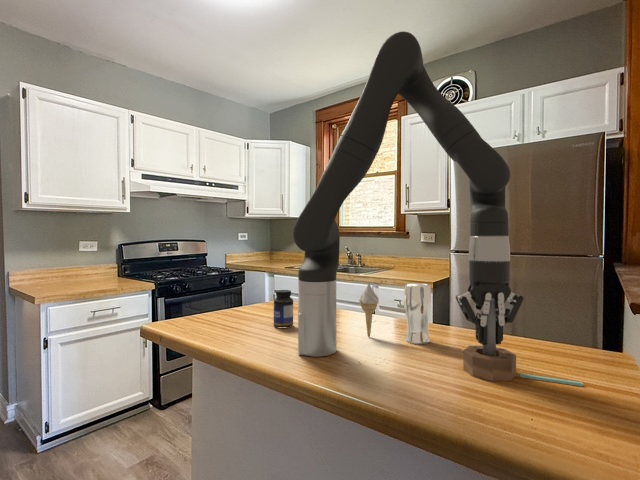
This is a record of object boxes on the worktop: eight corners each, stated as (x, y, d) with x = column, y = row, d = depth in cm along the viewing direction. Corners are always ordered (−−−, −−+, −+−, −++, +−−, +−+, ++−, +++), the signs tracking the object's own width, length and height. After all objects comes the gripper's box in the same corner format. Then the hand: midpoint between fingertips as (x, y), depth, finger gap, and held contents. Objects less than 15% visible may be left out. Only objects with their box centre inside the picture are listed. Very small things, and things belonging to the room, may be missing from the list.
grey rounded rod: (486, 370, 70) (486, 294, 69) (480, 366, 72) (480, 292, 72) (498, 370, 70) (498, 294, 70) (491, 365, 72) (491, 292, 72)
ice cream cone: (356, 338, 95) (356, 283, 95) (361, 333, 100) (361, 281, 100) (376, 340, 93) (376, 284, 93) (381, 335, 98) (381, 282, 98)
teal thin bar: (520, 377, 68) (520, 374, 68) (520, 375, 69) (520, 373, 69) (583, 386, 64) (583, 383, 64) (582, 385, 64) (582, 382, 64)
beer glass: (432, 345, 88) (432, 286, 88) (404, 344, 90) (404, 286, 90) (429, 338, 95) (429, 283, 95) (403, 336, 96) (403, 282, 96)
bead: (479, 381, 66) (479, 360, 66) (457, 364, 75) (457, 346, 75) (524, 380, 67) (524, 359, 67) (497, 363, 76) (497, 345, 76)
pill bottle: (270, 325, 109) (270, 290, 109) (286, 322, 113) (286, 288, 113) (279, 329, 104) (279, 292, 104) (297, 326, 108) (297, 291, 108)
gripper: (465, 259, 67) (465, 350, 67) (534, 259, 68) (534, 348, 68) (447, 257, 74) (448, 339, 74) (510, 257, 75) (510, 337, 75)
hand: (489, 343), depth 71 cm, fingers closed on grey rounded rod, 2 cm apart
